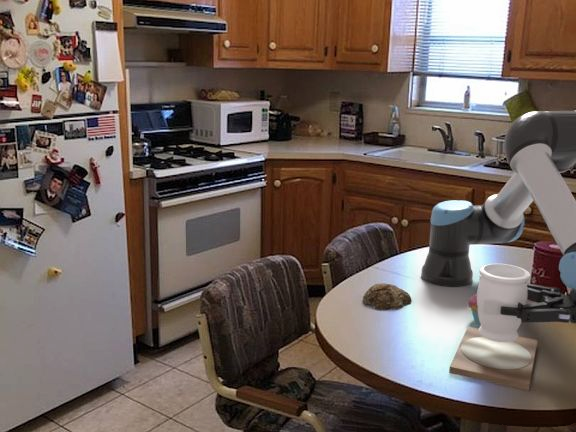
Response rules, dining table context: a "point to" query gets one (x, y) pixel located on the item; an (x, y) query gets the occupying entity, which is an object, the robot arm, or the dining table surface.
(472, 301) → the cupcake
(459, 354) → the board
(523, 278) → the jar
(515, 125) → the robot arm
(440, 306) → the dining table surface
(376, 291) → the bread roll
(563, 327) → the dining table surface
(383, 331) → the dining table surface
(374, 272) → the dining table surface
